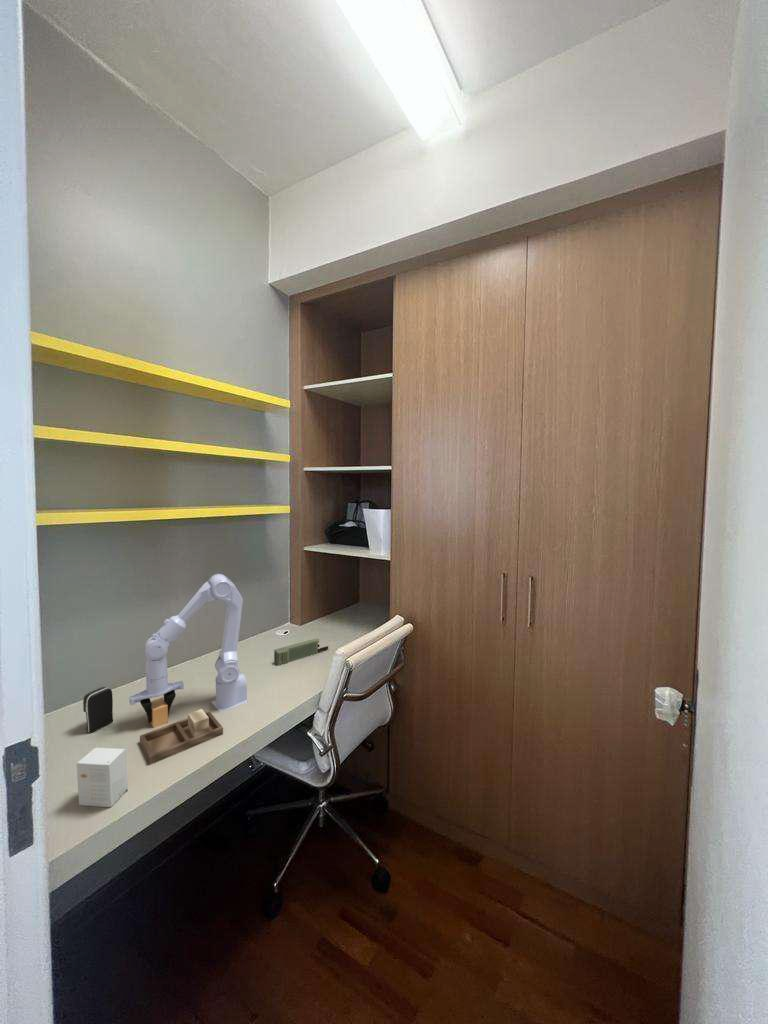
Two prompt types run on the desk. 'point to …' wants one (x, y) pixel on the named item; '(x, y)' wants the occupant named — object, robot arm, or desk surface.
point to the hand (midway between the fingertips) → (158, 718)
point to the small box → (102, 777)
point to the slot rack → (176, 739)
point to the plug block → (159, 712)
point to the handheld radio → (297, 651)
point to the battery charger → (98, 708)
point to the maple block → (198, 723)
